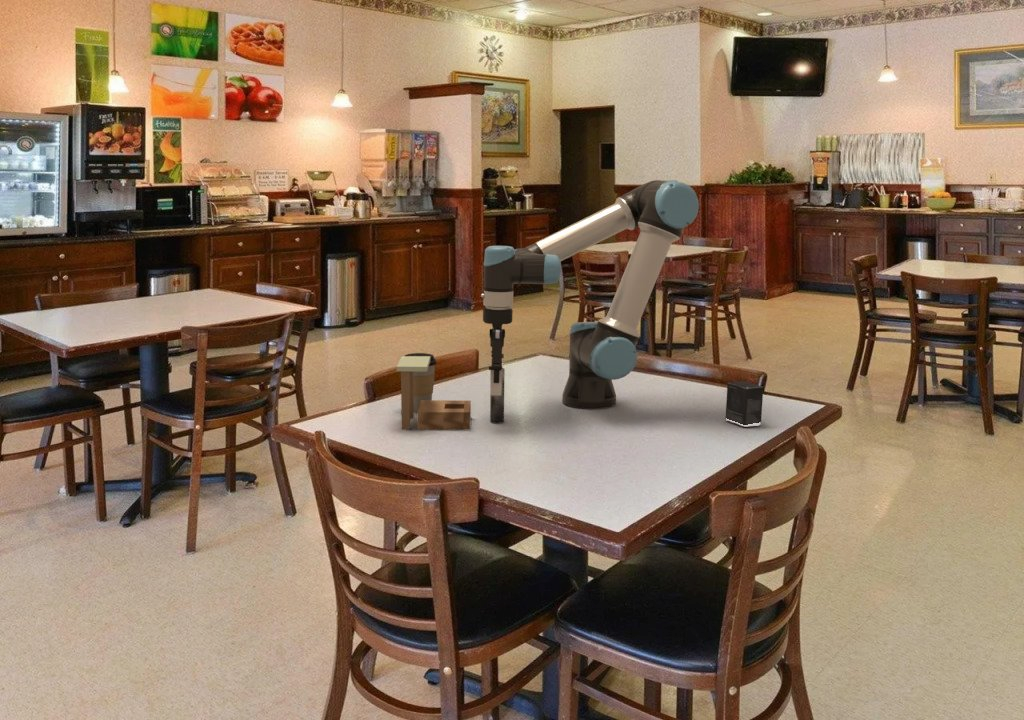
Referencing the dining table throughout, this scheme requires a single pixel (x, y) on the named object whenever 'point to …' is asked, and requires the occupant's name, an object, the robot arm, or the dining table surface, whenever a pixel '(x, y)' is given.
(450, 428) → the socket
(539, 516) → the dining table surface
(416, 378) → the coffee cup
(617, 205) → the robot arm
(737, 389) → the box
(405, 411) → the capped wooden post
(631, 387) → the dining table surface
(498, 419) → the peg
